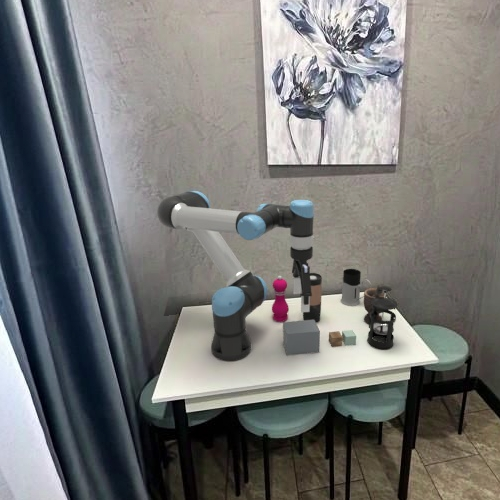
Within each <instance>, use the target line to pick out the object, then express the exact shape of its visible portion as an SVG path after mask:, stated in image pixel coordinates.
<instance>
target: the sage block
mask: <svg viewBox="0 0 500 500" xmlns="http://www.w3.org/2000/svg"><path fill="white" fill-rule="evenodd" d="M341 335H342V337H343V341H342V344H344V346H345V347H347V346H356V344H357V335H356V333H355V331H354V330H353V329H349V330H342V332H341Z"/></svg>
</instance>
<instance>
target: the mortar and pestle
mask: <svg viewBox="0 0 500 500" xmlns="http://www.w3.org/2000/svg"><path fill="white" fill-rule="evenodd" d="M380 286H385V285H384V283H379V284H378V285H377V287H376V288H373V287H371V289H369V288H367V289H365V291H364V293H363V296H364V297H363V306H364V309H365V311H366V312H367V313H366V314H365V315H364V317H363V321H364V322H365V323H366V324H369V319H370V308H372V304H371V300H372V299H374V298H377V297H384V291H382V290H380V289H379V287H380ZM385 298H387V292H386V293H385ZM380 314H381V313H379V312H377V319H378V320H382V316H381V315H380Z"/></svg>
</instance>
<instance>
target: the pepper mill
mask: <svg viewBox="0 0 500 500" xmlns="http://www.w3.org/2000/svg"><path fill="white" fill-rule="evenodd" d="M287 288H288V282H287V280H286V279H284V278H283V276H281V275H278V276H277V278H276V279H274V281H273V282H272V289H274V290H273V294H274V296H275V298H274V301H273V303H272V305H271V312H272V319H273V321H276V322H279V323H281V322H282V323H283V322H287V320H288V318H289V317H288V313H289V310H290V309H289V307H290V306H289V304H288V302H287V300H286V296H285V295H286V294H287V290H286V289H287Z"/></svg>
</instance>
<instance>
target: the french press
mask: <svg viewBox="0 0 500 500" xmlns="http://www.w3.org/2000/svg"><path fill="white" fill-rule="evenodd" d="M379 289H380V290H382V291H384V297H377V298H374V299H372V300H371V304H372V308H370V319H369V323H368V328H369V331H368V335H367V339H366V342H367V344H368V346H370V347H372V348H373V349H375V350H380V351H387V350H391V349H392V348H394V345H395V343H394V339H395V338H394V334H393V332H394V330H395V329H394V324H395V322H396V320H397V315H396V313H394V312H393V311H391V310H396V309H397V307H398V303H397V302H396V300H394V299H393V298H389V297H386V298H385V293H386V294H387V292H391V291H392V290H393V289H392V287H390V286H388V285H384V286H380V287H379ZM377 312H379V313H380V314H381V315H382V316H381V317H382V320H378V319H377ZM384 313H386V314H389V315H390V319H389V320H384ZM378 337H379V338H383V339H386V341H380V340H377V339H374V338H378Z"/></svg>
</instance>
